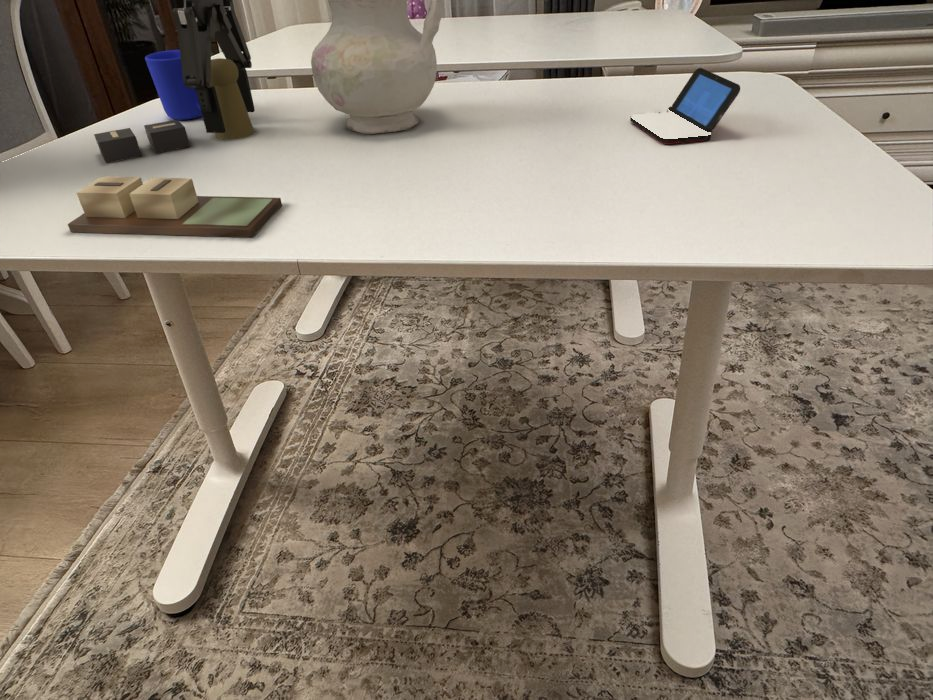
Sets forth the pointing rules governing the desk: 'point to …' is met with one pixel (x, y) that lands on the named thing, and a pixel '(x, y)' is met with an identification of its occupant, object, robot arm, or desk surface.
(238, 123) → the olive chess pawn
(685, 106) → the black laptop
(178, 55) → the mug
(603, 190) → the desk surface
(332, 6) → the ceramic pitcher
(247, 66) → the robot arm
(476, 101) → the desk surface
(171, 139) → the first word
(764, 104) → the desk surface
